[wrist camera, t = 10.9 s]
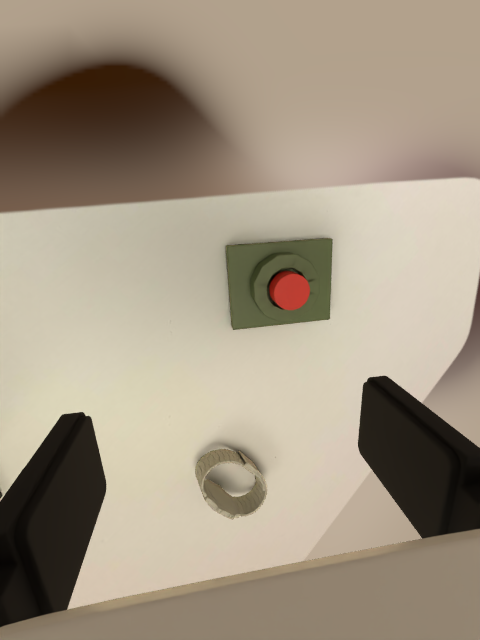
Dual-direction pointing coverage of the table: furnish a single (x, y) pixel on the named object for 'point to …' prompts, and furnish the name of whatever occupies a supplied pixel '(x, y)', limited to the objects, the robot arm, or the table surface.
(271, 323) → the button box
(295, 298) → the button
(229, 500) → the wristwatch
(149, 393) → the table surface
